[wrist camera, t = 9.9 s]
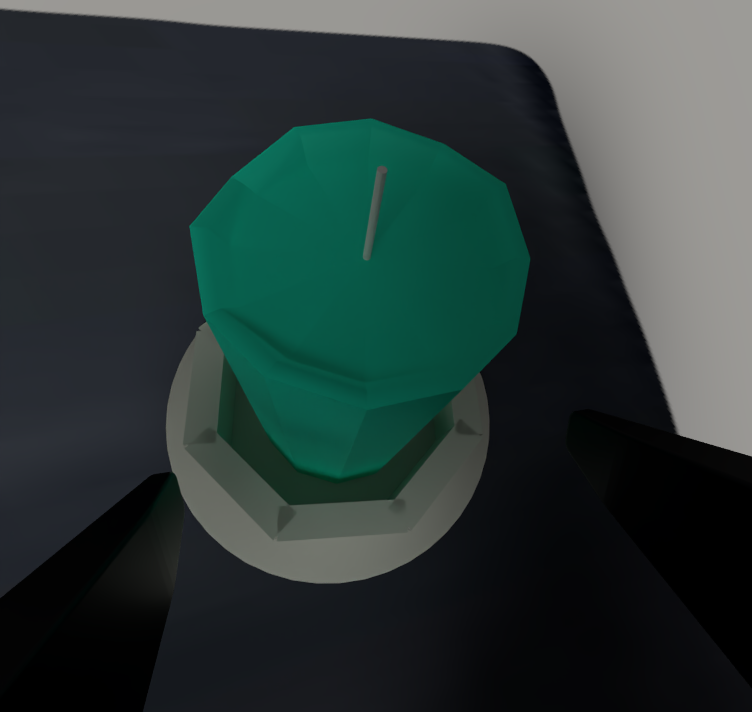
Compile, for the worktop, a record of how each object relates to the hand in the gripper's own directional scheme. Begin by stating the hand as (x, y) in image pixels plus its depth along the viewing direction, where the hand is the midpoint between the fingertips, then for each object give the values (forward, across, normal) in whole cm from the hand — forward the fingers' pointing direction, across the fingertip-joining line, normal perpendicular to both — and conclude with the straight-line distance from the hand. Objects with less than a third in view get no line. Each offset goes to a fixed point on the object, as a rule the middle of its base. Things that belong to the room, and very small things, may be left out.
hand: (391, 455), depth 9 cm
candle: (+7, 0, +3) cm, 8 cm away
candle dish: (+8, 0, +3) cm, 9 cm away
